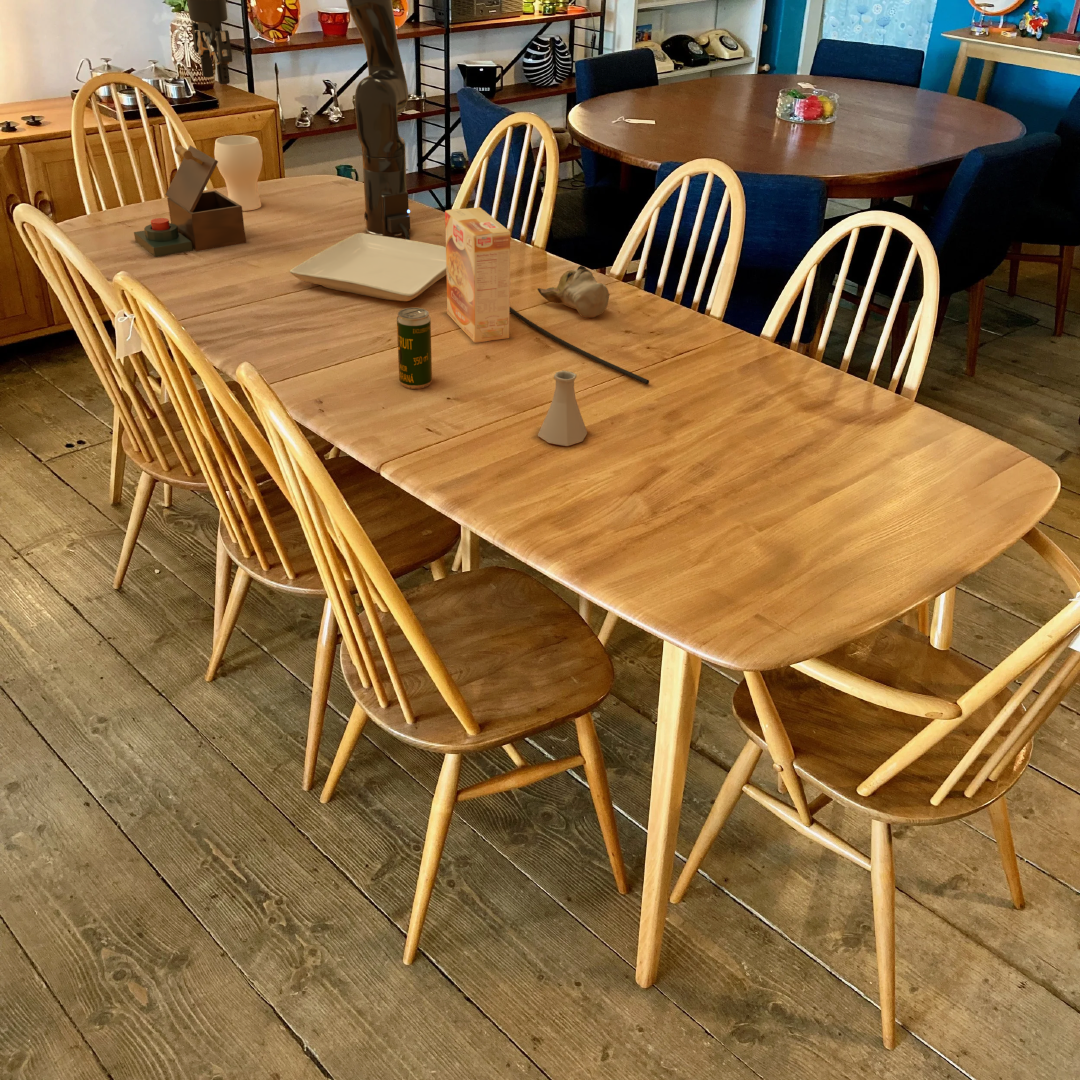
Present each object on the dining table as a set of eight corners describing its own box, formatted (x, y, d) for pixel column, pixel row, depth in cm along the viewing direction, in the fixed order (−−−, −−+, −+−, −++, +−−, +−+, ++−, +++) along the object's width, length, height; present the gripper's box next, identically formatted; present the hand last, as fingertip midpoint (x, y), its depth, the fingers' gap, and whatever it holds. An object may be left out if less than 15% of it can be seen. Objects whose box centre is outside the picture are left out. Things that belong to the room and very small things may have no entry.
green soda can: (416, 373, 184) (413, 304, 178) (439, 382, 182) (437, 313, 175) (392, 382, 181) (389, 313, 174) (415, 392, 178) (413, 322, 172)
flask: (556, 420, 171) (558, 360, 166) (595, 433, 168) (599, 373, 163) (529, 437, 166) (530, 376, 161) (569, 451, 163) (572, 390, 158)
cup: (256, 214, 254) (248, 147, 246) (213, 210, 256) (204, 143, 248) (274, 202, 263) (268, 136, 255) (233, 198, 265) (225, 133, 257)
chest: (220, 225, 247) (216, 190, 242) (246, 242, 238) (241, 206, 233) (172, 233, 241) (166, 197, 237) (196, 251, 232) (191, 213, 228)
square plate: (288, 288, 216) (286, 269, 213) (359, 248, 237) (358, 230, 235) (412, 311, 207) (411, 291, 205) (473, 267, 229) (473, 249, 227)
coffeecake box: (445, 313, 207) (443, 209, 196) (481, 309, 209) (481, 206, 199) (473, 343, 196) (472, 234, 185) (510, 338, 198) (512, 230, 187)
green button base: (192, 250, 232) (190, 231, 230) (155, 257, 228) (152, 238, 226) (171, 235, 240) (169, 216, 238) (135, 241, 236) (132, 222, 234)
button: (172, 230, 232) (171, 221, 231) (155, 232, 230) (154, 224, 229) (166, 225, 234) (165, 216, 233) (149, 228, 233) (148, 219, 232)
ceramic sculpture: (577, 279, 199) (534, 259, 210) (576, 326, 203) (534, 304, 214) (626, 271, 204) (581, 252, 215) (623, 317, 208) (580, 296, 219)
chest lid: (192, 146, 235) (171, 134, 232) (218, 161, 226) (196, 148, 222) (168, 196, 237) (146, 184, 233) (192, 212, 228) (170, 201, 224)
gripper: (237, -2, 221) (246, 84, 230) (209, -11, 231) (219, 72, 240) (201, 0, 217) (212, 88, 226) (174, -9, 227) (186, 75, 236)
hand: (216, 80), depth 233 cm, fingers open, 8 cm apart
